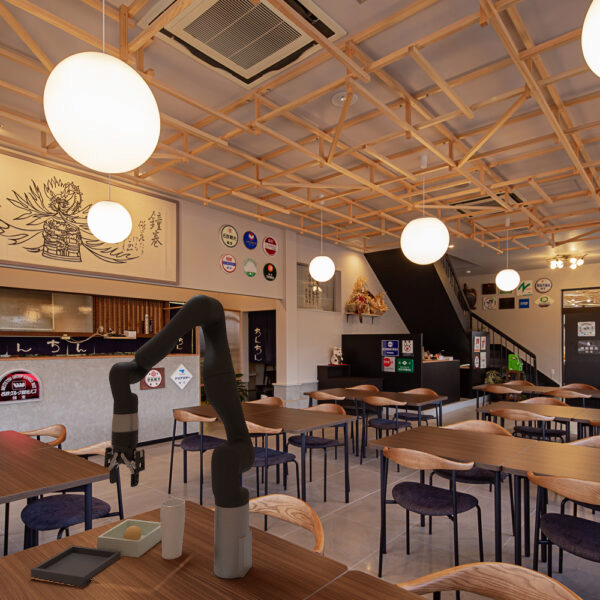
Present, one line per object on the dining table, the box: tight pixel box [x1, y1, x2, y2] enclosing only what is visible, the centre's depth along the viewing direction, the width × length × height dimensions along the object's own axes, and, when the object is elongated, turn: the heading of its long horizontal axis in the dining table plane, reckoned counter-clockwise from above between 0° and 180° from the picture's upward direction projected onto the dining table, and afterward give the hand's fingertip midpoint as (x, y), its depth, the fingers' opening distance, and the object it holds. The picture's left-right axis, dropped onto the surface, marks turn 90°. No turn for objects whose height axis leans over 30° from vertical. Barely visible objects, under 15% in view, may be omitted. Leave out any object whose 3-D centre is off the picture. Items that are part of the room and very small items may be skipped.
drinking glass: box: [159, 498, 186, 560], centre depth 123 cm, size 7×7×15 cm
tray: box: [30, 545, 122, 589], centre depth 116 cm, size 16×14×2 cm
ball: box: [124, 526, 142, 541], centre depth 129 cm, size 5×5×5 cm
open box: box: [96, 518, 162, 558], centre depth 129 cm, size 14×14×5 cm
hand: (123, 484), depth 129 cm, fingers open, 8 cm apart
